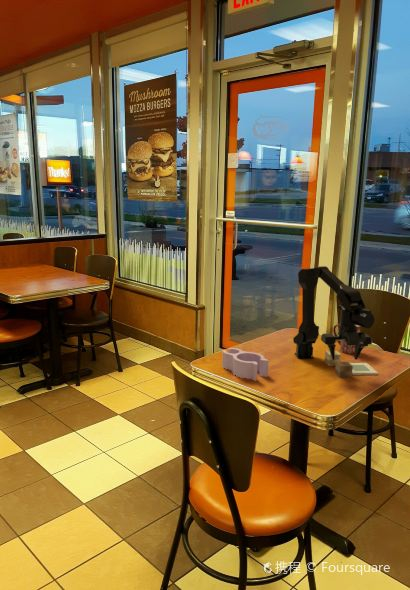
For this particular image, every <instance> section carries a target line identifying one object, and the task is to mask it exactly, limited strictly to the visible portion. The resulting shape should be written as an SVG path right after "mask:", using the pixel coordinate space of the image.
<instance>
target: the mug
mask: <svg viewBox="0 0 410 590" xmlns="http://www.w3.org/2000/svg"><path fill="white" fill-rule="evenodd" d="M355 326H357V332H359V333H360V332H361V326H358V325H355ZM337 327H338V328H340V325H339V323H337V324H335V325H333V328H332V329H333V331H332V332H333V333H332V334H333V336H338V333H337V332H336V329H337ZM337 343H338V345H339V346H340V347H339V351H340V352H341V353H344V354H347V355H348V354H349V355H353V354H354V355H355V345H351V346H349V345H347V344H346V341H337Z"/></svg>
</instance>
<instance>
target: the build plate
mask: <svg viewBox="0 0 410 590" xmlns="http://www.w3.org/2000/svg"><path fill="white" fill-rule="evenodd" d="M349 363H350V364H351V365H352V366H353V369H352V376H355V375H356V376H357V375H359V376H362V375H368V376H370V375H371V376H373V375H375V376H376V375H377V376H378V375H379V372H378V371H377V370H375V368H374V367H372V366H371V365H369V363H367V362H349Z"/></svg>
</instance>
